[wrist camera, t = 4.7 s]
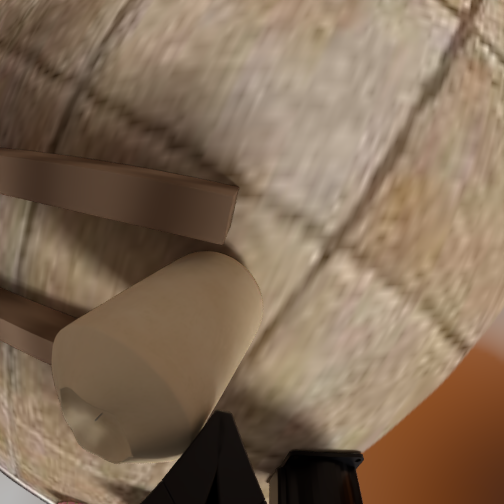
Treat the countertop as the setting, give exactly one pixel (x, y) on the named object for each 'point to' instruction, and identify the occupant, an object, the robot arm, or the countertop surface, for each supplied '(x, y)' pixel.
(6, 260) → the countertop surface
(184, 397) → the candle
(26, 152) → the u rest
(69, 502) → the candy landscape model
